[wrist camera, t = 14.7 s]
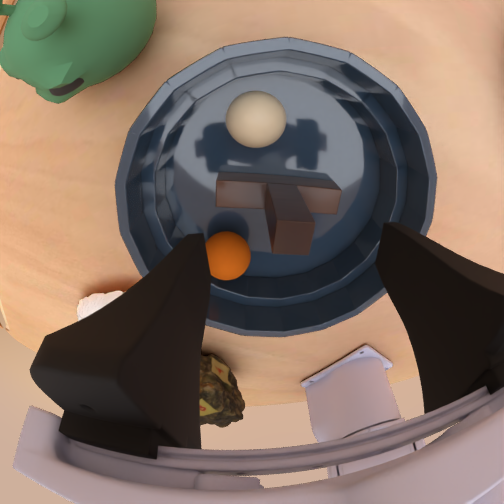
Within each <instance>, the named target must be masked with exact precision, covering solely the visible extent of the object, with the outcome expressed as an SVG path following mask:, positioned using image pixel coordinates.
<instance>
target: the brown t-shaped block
mask: <svg viewBox="0 0 504 504" xmlns="http://www.w3.org/2000/svg"><path fill="white" fill-rule="evenodd" d="M341 193H342V190H341V188H340V187H339V186H338V185H337V184H336V183H335V182H334V181H330V180H321V179H312V178H303V177H292V176H281V175H268V174H253V173H234V172H219V173H218V176H217V180H216V207H229V208H250V209H264V210H265V215H266V221H267V227H268V232H269V238H270V244H271V249H272V254H287V255H309V252H310V247H311V243H312V238H313V233H314V229H315V224H316V223H315V221H314V219H313V217H312V215H311V213H323V214H335V215H336V214H337V211H338V206H339V202H340V197H341ZM310 212H311V213H310Z"/></svg>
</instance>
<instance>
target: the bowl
mask: <svg viewBox="0 0 504 504" xmlns="http://www.w3.org/2000/svg"><path fill="white" fill-rule="evenodd" d="M249 91H263V92H266V93H269V94H271V95H273V96H274V97H276V98H277V99H278V100H279V101H280V102H281V104H282V105H283V107H284V109H285V112H286V126H285V129H284V132H283V133H282V135H281V136H280V138H279V139H278V140H277V141H275V142H274V143H272V144H270V145H268V146H266V147H261V148H251V147H247V146H244V145H242V144H240V143H238V142H237V141H236V140H235V139H234V138H233V137H232V136H231V135H230V133H229V131H228V129H227V126H226V113H227V110H228V107H229V106H230V104H231V102H232V101H233V100H234V99H235V98H236V97H238V96H239V95H241V94H243V93H246V92H249ZM219 172H234V173H253V174H268V175H281V176H292V177H303V178H312V179H321V180H330V181H334V182H335V183H336V184H337V185H338V186H339V187H340V188H341V190H342V193H341V197H340V202H339V206H338V211H337V214H336V215H335V214H323V213H311V212H310V213H311V215H312V217H313V219H314V221H315V223H316V224H315V229H314V233H313V238H312V243H311V247H310V252H309V255H287V254H272V249H271V244H270V238H269V232H268V227H267V221H266V215H265V210H264V209H250V208H229V207H216V180H217V176H218V173H219ZM436 184H437V173H436V168H435V163H434V158H433V154H432V149H431V145H430V141H429V137H428V133H427V130H426V128H425V126H424V125H423V123H422V121H421V120H420V118H419V116H418V115H417V113H416V112H415V110H414V109H413V107H412V105H411V104H410V102H409V101H408V99H407V98H406V97H405V95H404V94H403V92H402V91H401V89H400V88H399V87H398V86H397V85H396V84H395V83H394V82H392V81H391V80H390V79H389V78H387V77H386V76H385V75H383V74H382V73H381V72H379V71H378V70H376V69H375V68H374V67H372V66H371V65H369V64H368V63H367V62H365V61H364V60H362V59H361V58H359V57H358V56H356V55H355V54H353V53H350V52H349V51H346V50H343V49H339V48H336V47H332V46H328V45H324V44H320V43H316V42H312V41H307V40H303V39H298V38H292V37H280V38H271V39H264V40H257V41H250V42H244V43H239V44H233V45H228V46H224V47H223V48H219V49H217V50H215V51H214V52H212V53H210V54H208V55H206V56H205V57H203V58H201V59H199V60H198V61H196V62H194V63H193V64H191V65H189V66H188V67H186V68H185V69H183V70H181V71H180V72H178V73H177V74H175V75H174V76H172V77H171V78H169V79H168V80H167V81H166V82H164V83H163V85H162V86H161V87H160V88H159V90H158V91H157V92H156V93H155V95H154V96H153V97H152V99H151V100H150V101H149V103H148V104H147V105H146V107H145V108H144V109H143V111H142V112H141V113H140V115H139V116H138V118H137V119H136V120H135V122H134V123H133V125H132V126H131V128H130V130H129V131H128V135H127V138H126V141H125V145H124V148H123V152H122V156H121V159H120V163H119V167H118V171H117V175H116V179H115V194H116V205H117V214H118V222H119V230H120V234H121V236H122V238H123V241H124V243H125V245H126V247H127V249H128V251H129V253H130V255H131V257H132V259H133V261H134V263H135V266H136V267H137V269H138V271H139V273H140V275H141V276H142V277H144V276H146V275H147V274H148V273H149V272H150V271H151V270H152V269H153V268H154V267H155V266H156V265H157V264H158V263H160V262H161V261H162V260H163V259H164V258H165V257H166V256H167V255H168V254H169V253H170V252H171V250H172V249H173V248H174V247H175V246H176V245H177V244H178V243H179V242H180V241H181V240H182V239H183V238H184V237H185V236H186V235H187V234H195V233H204V239H205V243H206V242H207V240H208V239H209V238H210V237H211V236H213V235H214V234H216V233H219V232H224V231H229V232H234V233H236V234H238V235H240V236H241V237H242V238H243V239H244V240H245V241H246V242H247V244H248V246H249V248H250V253H251V259H250V263H249V266H248V268H247V269H246V271H245V272H244V273H243V274H242V275H241V276H239V277H238V278H236V279H232V280H220V279H217V278H215V277H213V276H212V275H211V289H210V301H209V306H208V312H207V318H206V323H205V325H207V326H210V327H213V328H217V329H220V330H224V331H228V332H231V333H235V334H239V335H244V336H259V337H288V336H293V335H299V334H304V333H309V332H314V331H319V330H323V329H326V328H328V327H331V326H333V325H335V324H338V323H340V322H342V321H344V320H347V319H349V318H351V317H353V316H356V315H358V313H361V312H362V311H363V310H365V309H366V308H368V307H369V306H370V305H372V304H373V303H374V302H376V301H377V300H378V299H380V298H381V297H382V296H383V295H385V294H386V293H387V291H386V289H385V287H384V285H383V283H382V281H381V278H380V276H379V273H378V270H377V268H376V265H375V261H376V257H377V252H378V248H379V243H380V238H381V233H382V228H383V223H384V222H397V223H400V224H402V225H405V226H407V227H409V228H411V229H413V230H415V231H416V232H418V233H420V234H422V235H424V236H426V235H427V232H428V230H429V228H430V225H431V223H432V219H433V212H434V204H435V195H436Z"/></svg>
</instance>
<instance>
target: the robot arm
mask: <svg viewBox="0 0 504 504" xmlns="http://www.w3.org/2000/svg"><path fill="white" fill-rule="evenodd" d="M375 265H376V268H377V270H378V273H379V276H380V278H381V281H382V283H383V285H384V287H385V289H386V291H387V293H388V295H389V296H390V298H391V300H392V302H393V304H394V306H395V308H396V310H397V312H398V313H399V315H400V317H401V319H402V321H403V323H404V326H405V328H406V330H407V333H408V336H409V339H410V342H411V345H412V348H413V351H414V355H415V358H416V362H417V366H418V370H419V375H420V380H421V386H422V393H423V401H424V413H425V414H424V415H421V416H419V417H416V418H413V419H410V420H407V421H405V419H404V418H401V415H400V413H399V410H398V406H397V403H396V400H395V397H394V394H393V391H392V389H391V386H390V383H389V380H388V377H387V375H386V372H385V371H386V370H388V369H389V368H391V367H392V366H393V363H392V362H391V361H389V360H388V359H387V358H385V357H384V356H382V355H381V354H380V353H378V352H377V351H376V350H374V349H373V348H371V347H370V346H369V345H364V346H362V347H361V348H359V349H357V350H356V351H354V352H353V353H351V354H349V355H348V356H346V357H345V358H343V359H341V360H340V361H338V362H336V363H335V364H333V365H331V366H329V367H328V368H326V369H324V370H322V371H321V372H319V373H317V374H315V375H313V376H312V377H310V378H308V379H306V380H304V381H302V382H301V386H302V387H305V391H306V397H307V402H308V409H309V414H310V421H311V426H312V430H313V433H314V436H315V438H316V439H317V441H318V442H319V443H315V444H308V445H300V446H292V447H283V448H272V449H254V450H203V449H201V434H200V359H201V348H202V341H203V335H204V329H205V323H206V318H207V312H208V306H209V301H210V289H211V273H210V267H209V262H208V256H207V251H206V245H205V239H204V233H195V234H187V235H186V236H185V237H184V238H183V239H182V240H181V241H180V242H179V243H178V244H177V245H176V246H175V247H174V248H173V249H172V250H171V252H170V253H169V254H168V255H167V256H166V257H165V258H164V259H163V260H162V261H161V262H160V263H158V264H157V265H156V266H155V267H154V268H153V269H152V270H151V271H150V272H149V273H148V274H147V275H146V276H144V277H143V278H142V279H141V280H140V281H139V282H137V283H136V284H135V285H134V286H132V287H131V288H130V289H128V290H127V291H126V292H125V293H123V294H122V295H120V296H119V297H117V298H116V299H114V300H113V301H111V302H110V303H108V304H107V305H105V306H104V307H102V308H101V309H99V310H97V311H96V312H94V313H92V314H91V315H89V316H87V317H85V318H83V319H81V320H80V321H78V322H76V323H74V324H72V325H69V326H67V327H65V328H63V329H60V330H58V331H56V332H54V333H52V334H49V335H47V336H45V338H44V340H43V342H42V344H41V346H40V348H39V350H38V352H37V354H36V357H35V359H34V361H33V363H32V365H31V368H30V373H31V377H32V379H33V380H34V382H35V383H36V384H37V386H38V387H39V388H40V389H41V390H42V391H43V392H44V393H45V394H46V395H47V396H48V397H50V398H51V399H52V400H53V401H54V402H55V403H56V404H57V405H59V406H60V407H61V408H62V409H63V410H64V414H63V417H62V418H61V417H59V416H57V415H55V414H53V413H51V412H48V411H45V410H42V409H40V408H37V407H34V406H29V409H28V412H27V415H26V419H25V421H24V425H23V428H22V431H21V435H20V438H19V442H18V446H17V450H16V454H15V458H14V462H13V468H14V469H15V470H17V471H18V472H20V473H22V474H23V475H25V476H26V477H28V478H30V479H31V480H33V481H35V482H36V483H38V484H40V485H41V486H43V487H45V488H47V489H49V490H51V491H52V492H54V493H56V494H58V495H60V496H61V497H63V498H65V499H67V500H69V501H71V502H73V503H75V504H504V274H503V273H500V272H497V271H494V270H492V269H489V268H487V267H484V266H482V265H479V264H477V263H475V262H473V261H471V260H469V259H466V258H464V257H462V256H460V255H458V254H456V253H455V252H453V251H451V250H449V249H447V248H445V247H443V246H442V245H440V244H438V243H436V242H434V241H433V240H431V239H429V238H427V237H426V236H424V235H422V234H420V233H418V232H416V231H415V230H413V229H411V228H409V227H407V226H405V225H402V224H400V223H397V222H384V223H383V228H382V233H381V238H380V243H379V248H378V252H377V257H376V261H375ZM458 422H459V423H458ZM456 423H457V424H456ZM454 424H456V425H454ZM452 425H454V426H452ZM450 426H452V427H450ZM448 427H450V428H449V429H448V430H447V431H445V432H444V433H443V434H442V435H441V436H439V437H438V438H437V439H435V440H434V441H432V442H431V443H429V444H428V445H425V441H424V438H426V437H428V436H431V435H433V434H435V433H437V432H440V431H442V430H444V429H446V428H448ZM325 467H327V472H328V479H324V480H319V481H314V482H309V483H303V484H297V485H290V486H282V487H274V488H264V487H263V486H262V485H260V480H259V479H258V478H256V477H239V476H249V475H269V474H280V473H291V472H299V471H307V470H313V469H319V468H325Z"/></svg>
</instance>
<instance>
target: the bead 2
mask: <svg viewBox="0 0 504 504" xmlns="http://www.w3.org/2000/svg"><path fill="white" fill-rule="evenodd" d="M226 126H227V129H228V131H229V133H230V135H231V136H232V137H233V138H234V139H235V140H236V141H237V142H238V143H240V144H242V145H244V146H247V147H251V148H261V147H266V146H268V145H270V144H272V143H274V142H275V141H277V140H278V139H279V138H280V136H281V135H282V133H283V132H284V129H285V126H286V112H285V109H284V107H283V105H282V104H281V102H280V101H279V100H278V99H277V98H276V97H274V96H273V95H271V94H269V93H266V92H263V91H249V92H246V93H243V94H241V95H239V96H238V97H236V98H235V99H234V100H233V101H232V102H231V104H230V106H229V107H228V110H227V113H226Z"/></svg>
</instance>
